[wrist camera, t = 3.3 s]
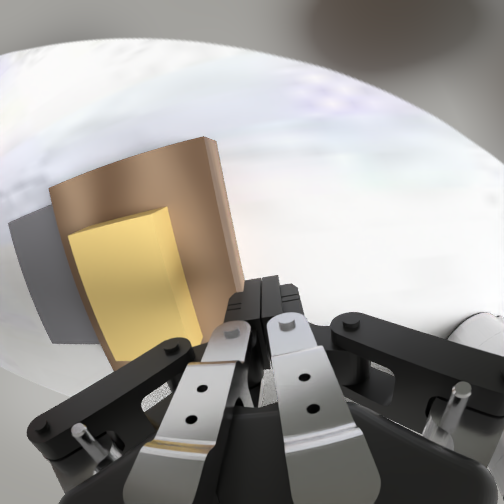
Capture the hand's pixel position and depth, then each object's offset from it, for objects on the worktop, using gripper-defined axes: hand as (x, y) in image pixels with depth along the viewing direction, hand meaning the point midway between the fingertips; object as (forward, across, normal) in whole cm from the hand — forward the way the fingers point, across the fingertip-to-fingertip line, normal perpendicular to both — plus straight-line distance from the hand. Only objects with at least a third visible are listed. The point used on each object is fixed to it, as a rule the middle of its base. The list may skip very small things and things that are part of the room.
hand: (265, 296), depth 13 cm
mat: (+9, +20, 0) cm, 22 cm away
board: (+9, +8, 0) cm, 12 cm away
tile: (+3, +8, 0) cm, 9 cm away
